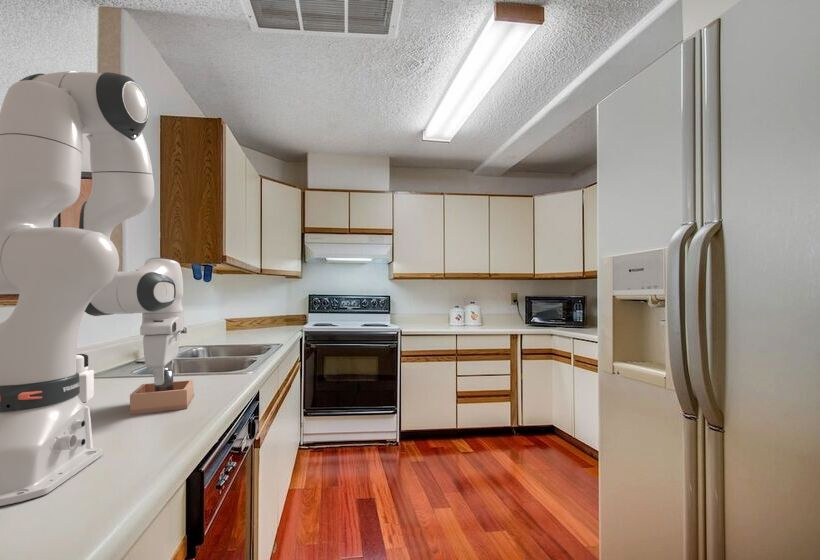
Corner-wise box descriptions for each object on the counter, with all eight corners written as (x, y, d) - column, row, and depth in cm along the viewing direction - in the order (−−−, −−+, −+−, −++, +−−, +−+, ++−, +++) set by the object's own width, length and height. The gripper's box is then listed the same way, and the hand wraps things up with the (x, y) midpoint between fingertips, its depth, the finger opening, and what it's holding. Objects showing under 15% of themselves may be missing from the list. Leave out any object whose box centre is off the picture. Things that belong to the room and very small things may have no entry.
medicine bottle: (61, 399, 110) (60, 353, 110) (94, 396, 113) (94, 351, 113) (51, 406, 104) (51, 357, 104) (87, 402, 107) (86, 355, 107)
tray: (186, 408, 100) (186, 389, 100) (130, 414, 96) (129, 394, 96) (193, 396, 111) (193, 379, 111) (142, 401, 107) (142, 383, 107)
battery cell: (171, 402, 102) (171, 369, 102) (152, 404, 101) (152, 370, 101) (174, 397, 106) (174, 366, 106) (156, 399, 104) (156, 367, 104)
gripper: (158, 321, 112) (158, 373, 112) (137, 328, 93) (138, 390, 93) (184, 320, 114) (184, 371, 114) (170, 327, 95) (170, 388, 95)
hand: (163, 380), depth 103 cm, fingers open, 8 cm apart
